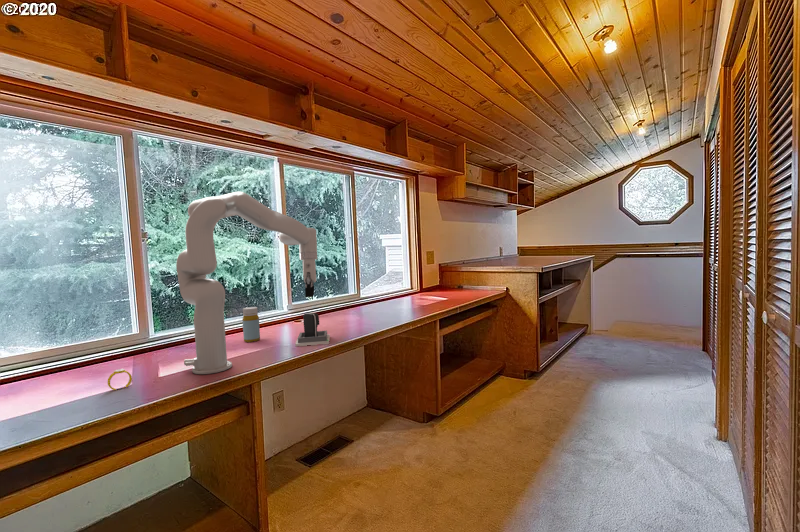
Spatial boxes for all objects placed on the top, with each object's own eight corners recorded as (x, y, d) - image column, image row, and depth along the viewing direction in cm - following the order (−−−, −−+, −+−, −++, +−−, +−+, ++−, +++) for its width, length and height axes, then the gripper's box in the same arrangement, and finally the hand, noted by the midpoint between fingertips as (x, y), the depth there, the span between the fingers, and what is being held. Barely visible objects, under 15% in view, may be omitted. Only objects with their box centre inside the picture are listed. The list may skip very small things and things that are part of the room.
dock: (295, 346, 165) (294, 339, 165) (298, 339, 179) (297, 332, 179) (329, 344, 168) (328, 336, 167) (329, 336, 181) (329, 329, 181)
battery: (321, 338, 173) (320, 312, 172) (314, 340, 170) (313, 314, 169) (310, 337, 177) (309, 311, 176) (304, 339, 174) (302, 313, 173)
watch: (130, 386, 125) (130, 367, 125) (132, 388, 123) (132, 368, 123) (106, 390, 120) (107, 371, 120) (109, 392, 119) (109, 372, 119)
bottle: (253, 338, 185) (252, 306, 185) (263, 339, 181) (261, 307, 181) (240, 341, 180) (238, 308, 179) (250, 343, 176) (247, 309, 175)
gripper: (316, 256, 164) (318, 297, 164) (318, 256, 181) (319, 293, 181) (297, 256, 162) (299, 298, 163) (301, 256, 179) (302, 294, 180)
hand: (310, 295), depth 172 cm, fingers open, 9 cm apart
